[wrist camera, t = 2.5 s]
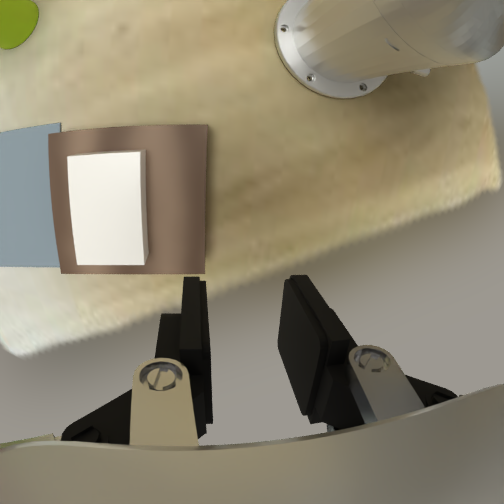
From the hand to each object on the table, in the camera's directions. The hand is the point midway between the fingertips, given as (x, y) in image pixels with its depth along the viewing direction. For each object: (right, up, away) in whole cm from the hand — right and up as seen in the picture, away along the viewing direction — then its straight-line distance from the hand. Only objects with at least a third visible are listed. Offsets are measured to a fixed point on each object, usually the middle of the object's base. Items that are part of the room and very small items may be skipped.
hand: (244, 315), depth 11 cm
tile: (-11, +6, +14) cm, 19 cm away
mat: (-24, +8, +16) cm, 30 cm away
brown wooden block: (-11, +8, +18) cm, 23 cm away
